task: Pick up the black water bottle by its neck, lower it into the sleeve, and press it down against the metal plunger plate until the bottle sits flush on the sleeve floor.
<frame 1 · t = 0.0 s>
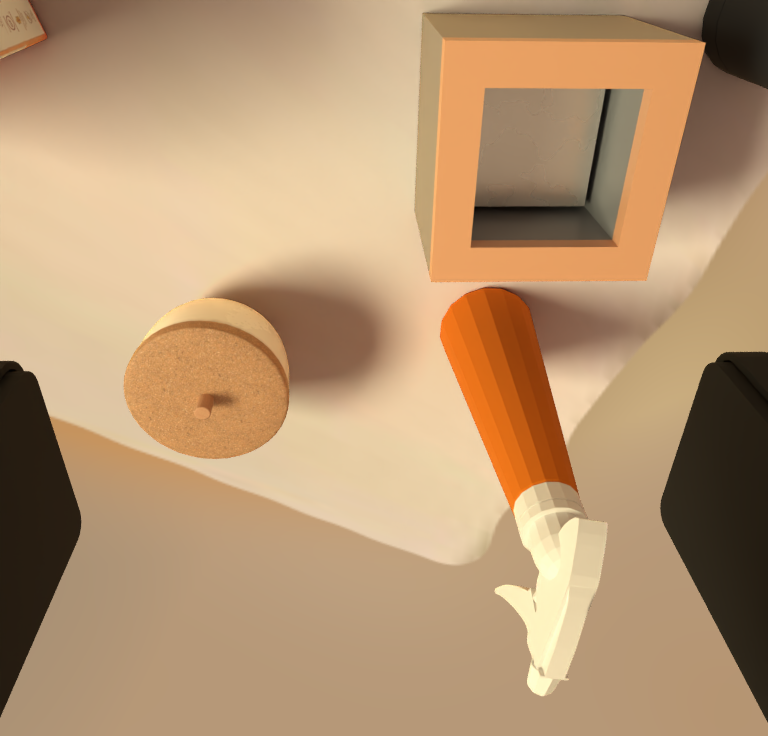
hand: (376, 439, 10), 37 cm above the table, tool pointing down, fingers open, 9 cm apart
spray bottle: (477, 346, 53), on the table
sleeve: (511, 119, 43), on the table
black water bottle: (753, 16, 41), on the table
lidded jar: (225, 336, 51), on the table
plunger plate: (531, 143, 38), point 6 cm above the table, slide at 4.0 cm
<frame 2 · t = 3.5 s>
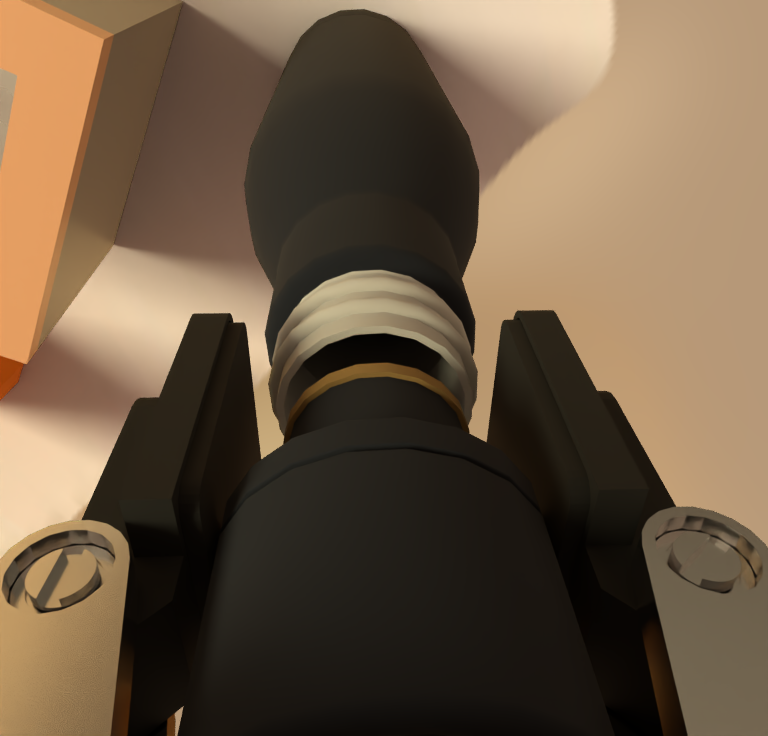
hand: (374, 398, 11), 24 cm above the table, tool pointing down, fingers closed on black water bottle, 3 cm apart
sleeve: (8, 74, 30), on the table
black water bottle: (356, 87, 31), on the table, touching gripper
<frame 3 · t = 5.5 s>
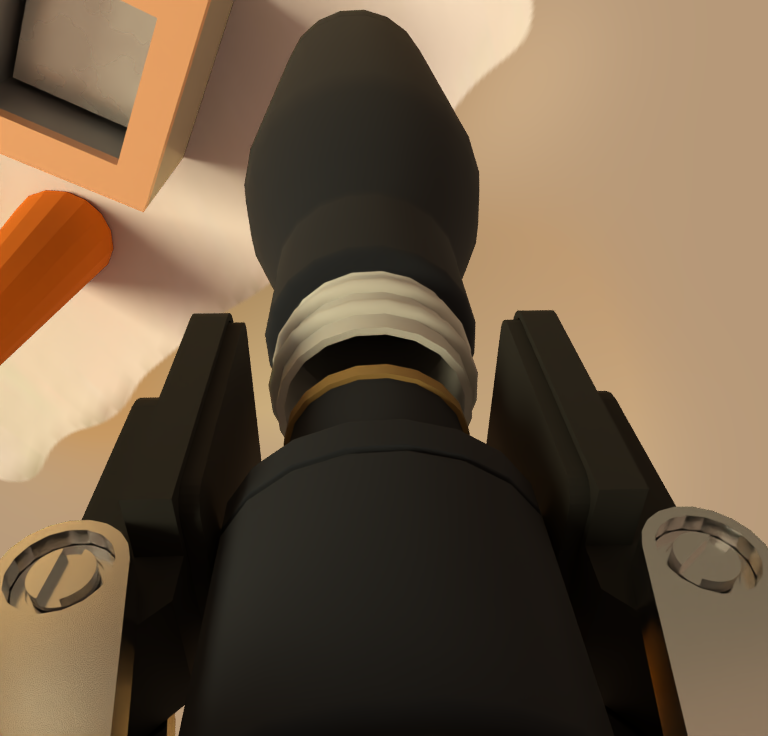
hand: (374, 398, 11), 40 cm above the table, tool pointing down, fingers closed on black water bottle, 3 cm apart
spray bottle: (55, 252, 51), on the table
sleeve: (119, 31, 43), on the table
black water bottle: (356, 88, 31), point 16 cm above the table, touching gripper
plunger plate: (91, 44, 39), point 6 cm above the table, slide at 4.0 cm
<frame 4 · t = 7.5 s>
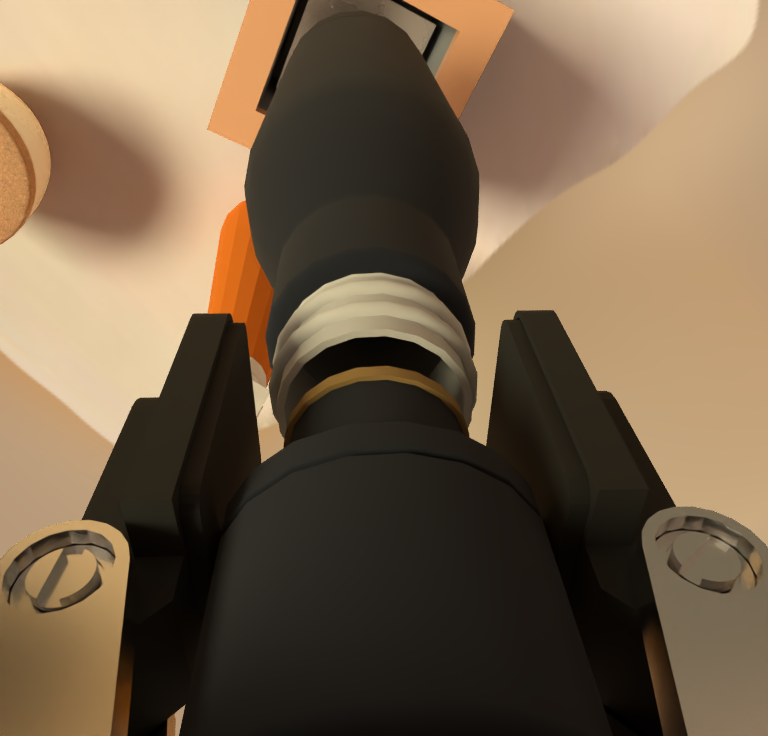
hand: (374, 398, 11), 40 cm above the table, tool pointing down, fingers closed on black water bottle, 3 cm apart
spray bottle: (255, 257, 52), on the table
sleeve: (353, 42, 44), on the table
black water bottle: (356, 88, 31), point 16 cm above the table, touching gripper
plunger plate: (354, 55, 40), point 6 cm above the table, slide at 4.0 cm
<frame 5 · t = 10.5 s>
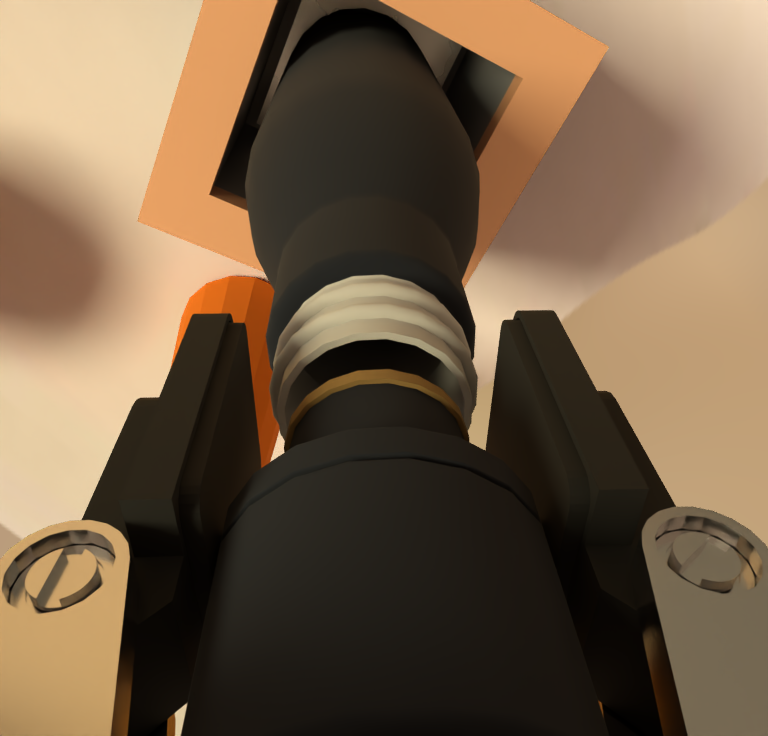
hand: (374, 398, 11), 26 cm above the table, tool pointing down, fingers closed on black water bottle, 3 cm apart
spray bottle: (228, 348, 40), on the table
sleeve: (356, 75, 32), on the table
black water bottle: (357, 86, 31), point 2 cm above the table, touching gripper, plunger plate
plunger plate: (357, 82, 31), point 1 cm above the table, slide at -0.1 cm, touching sleeve, black water bottle
when the fingers open (26 cm above the table, at t = 11.5 s): black water bottle stays where it is, resting on plunger plate.
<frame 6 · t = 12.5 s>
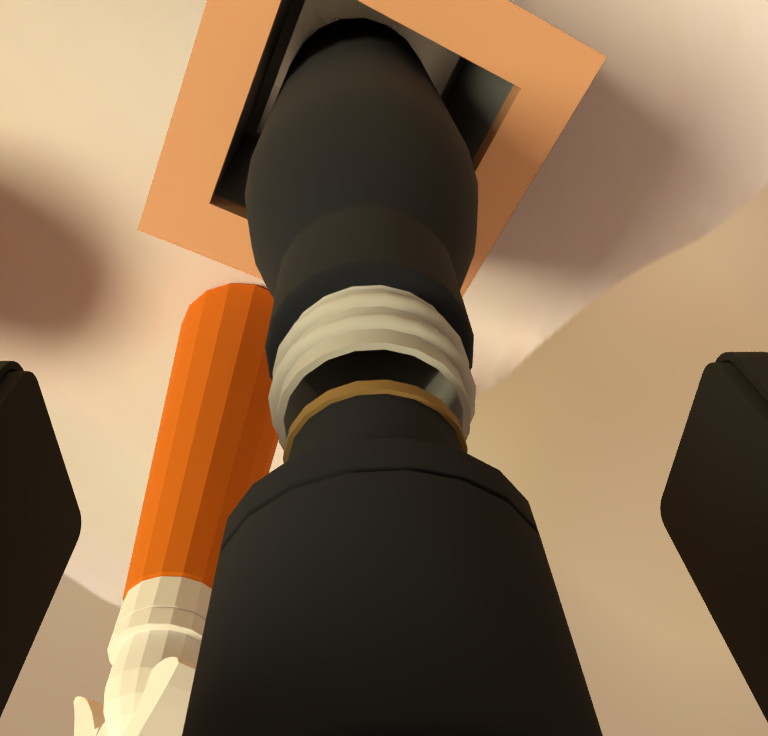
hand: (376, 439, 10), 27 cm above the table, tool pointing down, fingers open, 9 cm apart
spray bottle: (227, 355, 40), on the table
sleeve: (356, 84, 32), on the table
black water bottle: (356, 95, 31), point 2 cm above the table, touching plunger plate
plunger plate: (356, 91, 31), point 1 cm above the table, slide at -0.1 cm, touching sleeve, black water bottle
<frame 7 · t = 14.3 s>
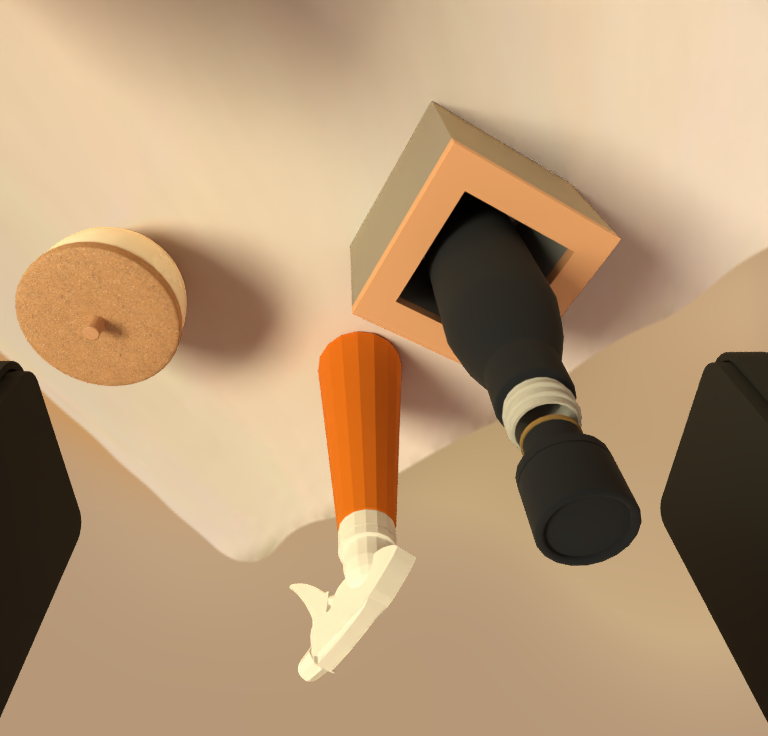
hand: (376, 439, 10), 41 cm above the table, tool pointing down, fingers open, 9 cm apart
spray bottle: (345, 378, 59), on the table
sleeve: (457, 215, 51), on the table
black water bottle: (461, 225, 49), point 2 cm above the table, touching plunger plate
lidded jar: (129, 272, 52), on the table
plunger plate: (460, 222, 50), point 1 cm above the table, slide at -0.1 cm, touching sleeve, black water bottle
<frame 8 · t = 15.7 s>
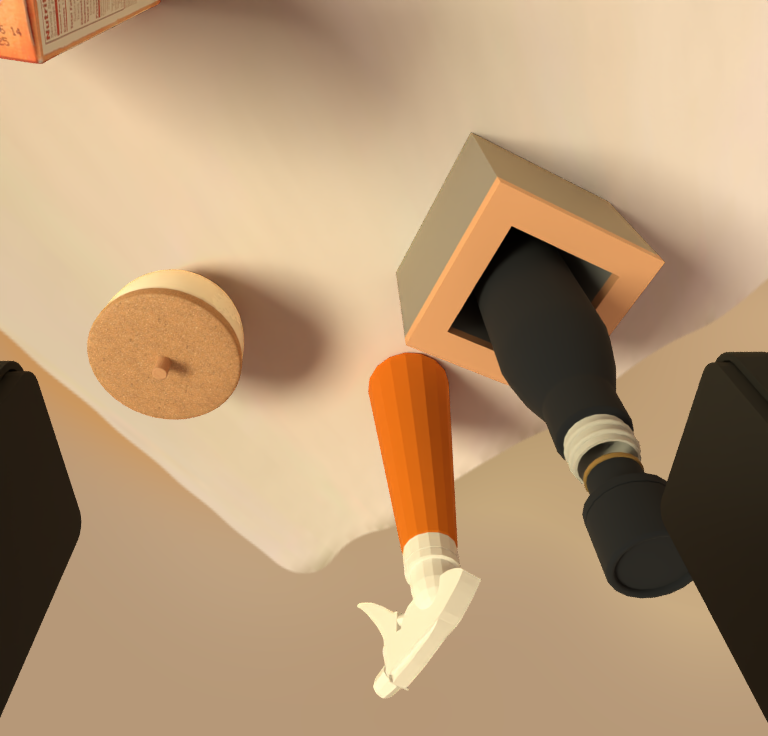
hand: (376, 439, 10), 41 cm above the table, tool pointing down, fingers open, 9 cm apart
spray bottle: (394, 397, 61), on the table
sleeve: (499, 237, 52), on the table
black water bottle: (503, 248, 51), point 2 cm above the table, touching plunger plate
lidded jar: (186, 308, 55), on the table
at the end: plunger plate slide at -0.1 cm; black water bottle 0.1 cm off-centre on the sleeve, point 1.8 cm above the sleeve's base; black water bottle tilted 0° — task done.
